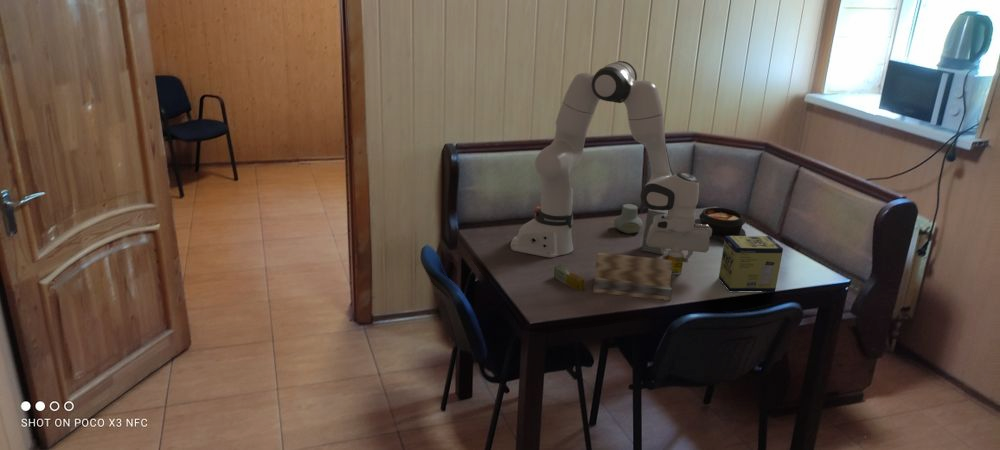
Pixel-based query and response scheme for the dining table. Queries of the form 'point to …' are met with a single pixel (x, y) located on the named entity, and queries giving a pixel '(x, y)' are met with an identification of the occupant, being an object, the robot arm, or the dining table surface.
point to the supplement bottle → (676, 260)
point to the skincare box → (648, 223)
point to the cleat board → (633, 276)
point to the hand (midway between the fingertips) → (674, 260)
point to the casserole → (722, 222)
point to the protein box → (750, 263)
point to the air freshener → (628, 219)
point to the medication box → (569, 278)
